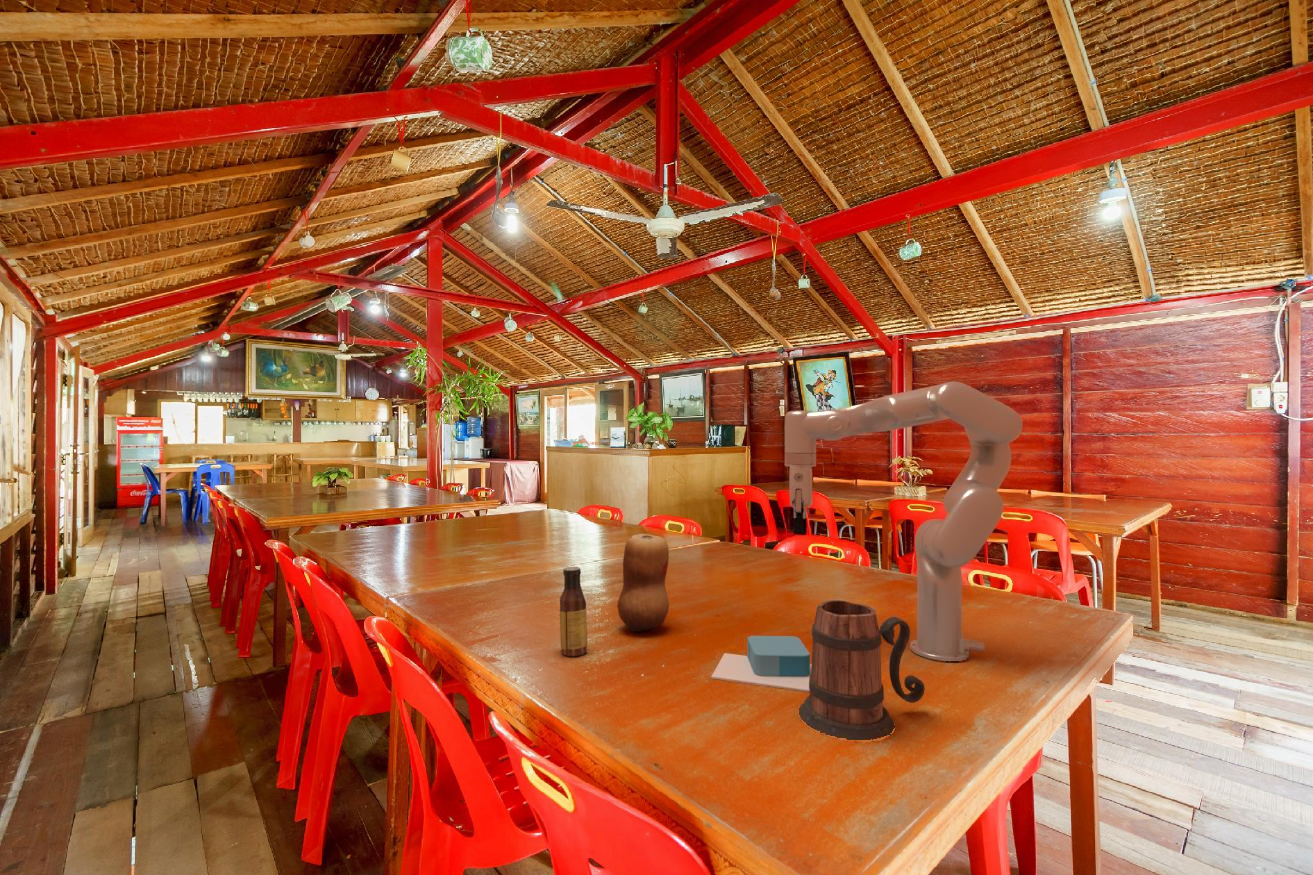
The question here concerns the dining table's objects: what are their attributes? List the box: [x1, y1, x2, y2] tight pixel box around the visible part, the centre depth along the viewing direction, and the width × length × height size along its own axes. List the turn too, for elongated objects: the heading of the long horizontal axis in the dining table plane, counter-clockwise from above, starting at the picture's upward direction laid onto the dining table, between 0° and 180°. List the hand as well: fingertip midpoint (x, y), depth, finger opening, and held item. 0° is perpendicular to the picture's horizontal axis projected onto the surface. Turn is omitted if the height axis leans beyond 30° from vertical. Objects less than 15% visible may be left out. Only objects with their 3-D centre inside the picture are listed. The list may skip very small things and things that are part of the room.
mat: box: [711, 652, 812, 693], centre depth 123 cm, size 20×14×1 cm
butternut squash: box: [616, 533, 670, 632], centre depth 151 cm, size 14×13×25 cm
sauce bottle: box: [559, 566, 588, 657], centre depth 134 cm, size 6×6×20 cm
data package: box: [746, 635, 811, 676], centre depth 126 cm, size 12×4×12 cm
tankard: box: [798, 599, 925, 740], centre depth 104 cm, size 24×17×20 cm
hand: (799, 534), depth 141 cm, fingers closed
